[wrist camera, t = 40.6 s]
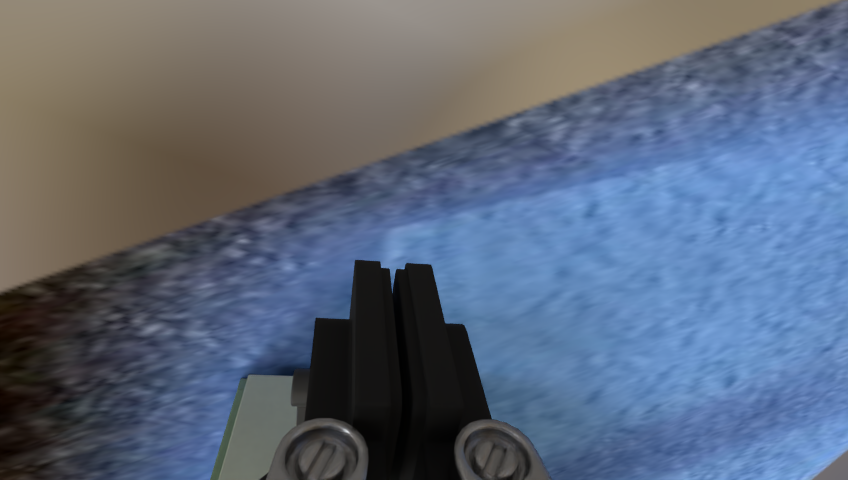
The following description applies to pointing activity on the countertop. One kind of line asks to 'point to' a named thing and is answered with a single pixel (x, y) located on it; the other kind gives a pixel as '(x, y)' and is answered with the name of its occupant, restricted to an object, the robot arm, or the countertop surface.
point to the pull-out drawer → (264, 423)
